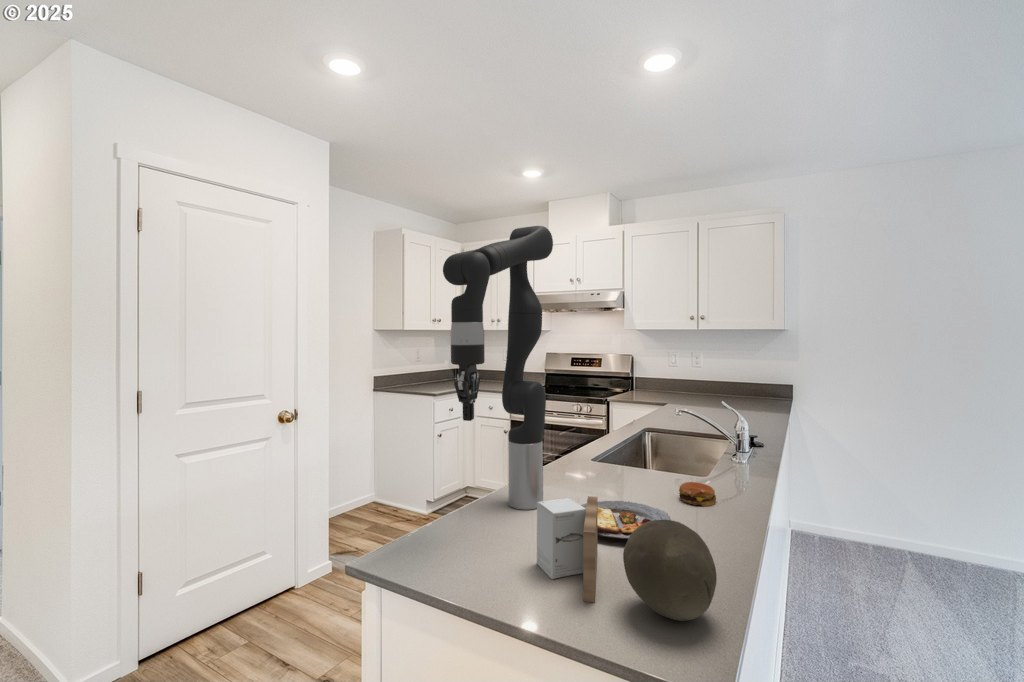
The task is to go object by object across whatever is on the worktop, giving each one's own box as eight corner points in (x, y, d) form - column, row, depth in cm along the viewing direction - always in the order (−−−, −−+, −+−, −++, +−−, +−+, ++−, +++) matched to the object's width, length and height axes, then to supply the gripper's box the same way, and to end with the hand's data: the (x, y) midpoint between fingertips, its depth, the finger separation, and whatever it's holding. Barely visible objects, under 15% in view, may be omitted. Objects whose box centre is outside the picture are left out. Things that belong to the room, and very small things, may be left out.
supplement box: (551, 580, 92) (551, 513, 92) (535, 563, 99) (535, 500, 99) (586, 573, 95) (586, 508, 95) (568, 557, 102) (568, 496, 102)
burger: (697, 494, 143) (697, 477, 143) (723, 504, 134) (723, 487, 134) (670, 498, 139) (670, 482, 139) (695, 509, 130) (695, 492, 130)
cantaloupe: (694, 591, 88) (694, 507, 88) (731, 640, 74) (732, 540, 74) (615, 593, 88) (615, 508, 88) (638, 642, 74) (638, 542, 74)
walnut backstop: (587, 553, 104) (587, 496, 104) (597, 554, 103) (597, 496, 103) (583, 601, 85) (583, 531, 85) (595, 602, 85) (595, 532, 85)
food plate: (680, 550, 105) (679, 533, 105) (569, 544, 109) (569, 528, 109) (664, 511, 129) (663, 498, 130) (574, 508, 133) (574, 495, 133)
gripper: (475, 343, 104) (476, 426, 104) (490, 341, 117) (491, 415, 117) (441, 343, 105) (442, 425, 105) (460, 342, 118) (461, 414, 118)
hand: (468, 420), depth 111 cm, fingers closed
